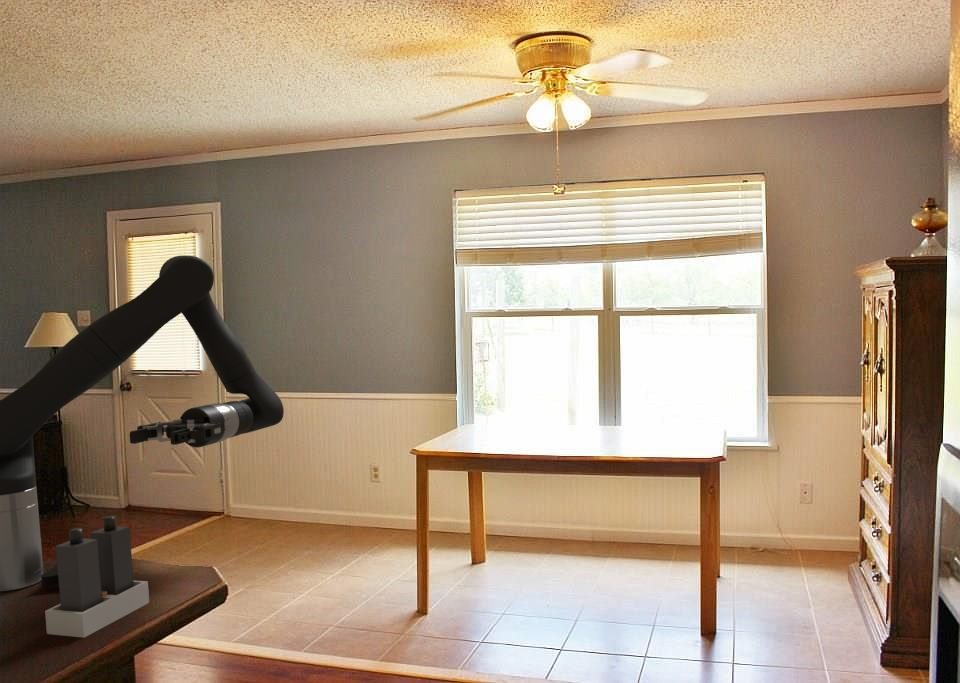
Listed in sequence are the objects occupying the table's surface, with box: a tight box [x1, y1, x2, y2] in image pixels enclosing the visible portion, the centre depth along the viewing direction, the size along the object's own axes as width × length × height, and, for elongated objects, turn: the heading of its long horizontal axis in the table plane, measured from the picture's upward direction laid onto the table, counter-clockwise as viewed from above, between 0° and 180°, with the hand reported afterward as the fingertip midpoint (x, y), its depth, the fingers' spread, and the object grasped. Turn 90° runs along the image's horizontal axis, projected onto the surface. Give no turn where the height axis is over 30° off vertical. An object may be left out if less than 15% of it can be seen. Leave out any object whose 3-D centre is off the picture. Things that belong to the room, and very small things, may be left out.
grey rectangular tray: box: [44, 579, 150, 639], centre depth 129 cm, size 14×7×5 cm, turn 162°
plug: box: [90, 515, 135, 595], centre depth 132 cm, size 4×4×15 cm
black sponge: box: [41, 564, 59, 591], centre depth 152 cm, size 16×8×4 cm, turn 4°
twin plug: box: [55, 527, 102, 612], centre depth 125 cm, size 4×4×15 cm
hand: (151, 438), depth 142 cm, fingers open, 8 cm apart
